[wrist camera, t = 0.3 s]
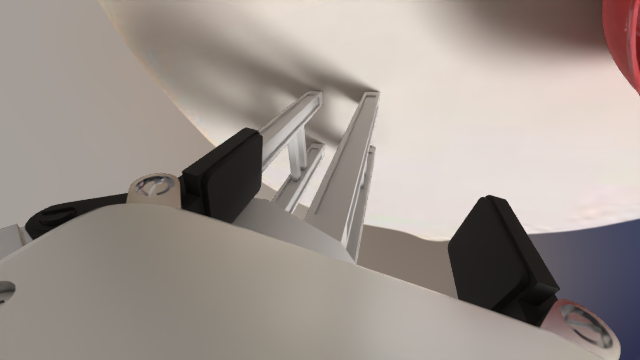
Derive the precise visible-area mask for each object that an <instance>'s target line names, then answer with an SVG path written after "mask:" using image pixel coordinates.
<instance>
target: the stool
mask: <svg viewBox="0 0 640 360" xmlns="http://www.w3.org/2000/svg"><path fill="white" fill-rule="evenodd" d="M379 100H380V92H364V94H363V96H362V99H361V101H360V103H359V105H358V107H357V109H356V111H355V113H354V115H353V117H352V120H351V122H350V124H349V126H348V128H347V130H346V132H345V134H344V136H343V138H342V141H341V143H340V145H339V147H338V149H337V151H336V153H335V155H334V157H333V159H332V162H331V164H330V166H329V168H328V170H327V172H326V174H325V176H324V178H323V180H322V183H321V185H320V187H319V189H318V191H317V193H316V195H315V197H314V199H313V201H312V204H311V206H310V208H309V210H308V212H307V214H306V216H305V218H304V220H301V219H300V218H298V217H296V216H294V215H293V214H292V213H293V212H294V210H295V208H296V206H297V204H298V203H299V201H300V199H301V197H302V195H303V194H304V192H305V190H306V188H307V186H308V184H309V183H310V181H311V179H312V177H313V175H314V174H315V172H316V170H317V168H318V166H319V164H320V163H321V161H322V159H323V157H324V155H325V150H324V144H315V143H312V144H311V145H310V147H309V148H308V150H307V151H306V142H305V130H304V125H305V124H306V123H307V122H308V121H309V120H310V119H311V117H312V116H313V115H314V114H315V113H316V112H317V111H318V110H319V108H320V107H321V106H322V105H323V100H322V91H308V92H306V93H305V94H304V95H303V96H301V97H300V98H299V99H298V100H296V101H295V102H294V103H292V104H291V105H290V106H289V107H287V108H286V109H285V110H284V111H282V112H281V113H280V114H278V115H277V116H276V117H275V118H273V119H272V120H271V121H270V122H268V123H267V124H266V125H265V126H263V127H262V128H261V129H259V130H258V131H259V133H260V135H262V136H263V151H262V172H263V171H264V170H265V169H266V168H267V167H268V165H269V164H270V163H271V162H272V161H273V160H274V159H275V158H276V157H277V155H278V154H279V153H280V152H281V151H282V150H283V149H284V148H285V146H286V145H287V144H288V152H289V160H290V168H291V174H290V175H289V177H288V178H287V179H286V181H285V182H284V184H283V185H282V187H281V188H280V189H279V191H278V192H277V194H276V195H275V196H274V198H273V199H272V201H271V202H270V201H269V200H266V199H258V198H253V199H252V200H251V201H250V202H249V204H248V205H247V206H246V207H245V208H244V210H243V211H242V212H241V213H240V215H239V216H238V217H237V218H236V219H235V221H234V222H233V223H232V224H233V225H236V226H239V227H242V228H245V229H248V230H251V231H254V232H257V233H260V234H264V235H267V236H270V237H273V238H276V239H279V240H282V241H285V242H288V243H291V244H294V245H297V246H300V247H303V248H306V249H310V250H313V251H316V252H319V253H322V254H325V255H328V256H331V257H334V258H337V259H340V260H343V261H346V262H349V263H352V264H355V265H356V263H357V257H358V251H359V245H360V240H361V234H362V229H363V223H364V217H365V211H366V206H367V200H368V194H369V189H370V183H371V177H372V172H373V166H374V160H375V150H376V148H374V147H370V143H371V138H372V134H373V130H374V126H375V121H376V117H377V113H378V108H379Z"/></svg>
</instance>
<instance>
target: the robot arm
mask: <svg viewBox="0 0 640 360" xmlns="http://www.w3.org/2000/svg"><path fill="white" fill-rule="evenodd" d="M262 151H263V136H262V135H260V133H259V131H257V130H254V129H250V128H247V127H246V128H244V129H242V130H241V131H239V132H238V133H237V134H235V135H234V136H232V137H231V138H229V139H228V140H226V141H225V142H224V143H222V144H221V145H219V146H218V147H216V148H215V149H213V150H212V151H211V152H209V153H208V154H206V155H205V156H204V157H202V158H201V159H199V160H198V161H196V162H195V163H193V164H192V165H191V166H189V167H188V168H186V169H185V170H183V171H182V174H183V175H182V176H180V177H178V178H177V177H176V176H174V175H171V174H166V173H155V174H149V175H146V176H143V177H141V178H139V179H137V180H135V181H134V182H133V183H132V184H131V185H130V188H129V191H128V193H125V194H119V195H112V196H106V197H100V198H93V199H87V200H81V201H74V202H68V203H63V204H58V205H54V206H51V207H48V208H46V209H44V210H42V211H40V212H38V213H36V214H35V215H34V216H33V217H31V218H30V219H29V220H28V222H27V223H26V225H25V226H24V227H21V228H19V226H18V225H17V224H15V225H11V226H8V227H5V228H2V229H0V360H619V356H620V344H619V341H618V339H617V337H616V336H615V335H614V333H613V332H612V331H611V329H610V328H609V327H608V326H607V325H606V324H605V323H604V322H603V321H602V320H601V319H600V318H599V317H598V316H596V315H595V314H594V313H592V312H591V311H590V310H588V309H586V308H585V307H583V306H582V305H579V304H577V303H575V302H573V301H569V300H565V299H561V300H558V299H557V298H556V296H555V293H556V292H558V291H559V290H560V288H559V286H558V285H557V283H556V282H555V280H554V278H553V277H552V275H551V273H550V272H549V270H548V268H547V267H546V265H545V263H544V262H543V260H542V258H541V257H540V255H539V253H538V252H537V250H536V248H535V247H534V245H533V244H532V242H531V240H530V239H529V237H528V235H527V233H526V232H525V230H524V228H523V227H522V225H521V224H520V222H519V220H518V219H517V217H516V215H515V214H514V212H513V210H512V209H511V207H510V205H509V204H508V202H507V201H506V200H505V199H502V198H499V197H495V196H491V195H487V196H486V197H481V198H480V199H479V200H478V201H477V203H476V204H475V206H474V207H473V209H472V210H471V212H470V213H469V214H468V216H467V217H466V219H465V220H464V222H463V223H462V224H461V226H460V227H459V229H458V230H457V232H456V233H455V235H454V236H453V237H452V239H451V240H450V242H449V244H448V253H449V258H450V262H451V267H452V272H453V276H454V281H455V285H456V290H457V295H458V299H456V298H453V297H450V296H447V295H444V294H441V293H438V292H435V291H432V290H429V289H426V288H423V287H420V286H417V285H414V284H411V283H409V282H406V281H402V280H399V279H396V278H394V277H391V276H388V275H385V274H382V273H379V272H376V271H373V270H370V269H366V268H364V267H361V266H358V265H355V264H352V263H349V262H346V261H343V260H340V259H337V258H334V257H331V256H328V255H325V254H322V253H319V252H316V251H313V250H310V249H306V248H303V247H300V246H297V245H294V244H291V243H288V242H285V241H282V240H279V239H276V238H273V237H270V236H267V235H264V234H260V233H257V232H254V231H251V230H248V229H245V228H242V227H239V226H236V225H233V224H232V223H233V222H234V221H235V219H236V218H237V217H238V216H239V215H240V213H241V212H242V211H243V210H244V208H245V207H246V206H247V205H248V204H249V202H250V201H251V200H252V199H253V198H254V196H255V195H256V194H257V193H258V191H259V190H260V187H261V178H262Z"/></svg>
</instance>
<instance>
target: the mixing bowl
mask: <svg viewBox="0 0 640 360" xmlns="http://www.w3.org/2000/svg"><path fill="white" fill-rule="evenodd" d="M602 22H603V30H604V35H605V38H606V41H607V44H608V47H609V50H610V53H611V55H612V58H613V59H614V61H615V63H616V65H617V66H618V68H619V70H620V71H621V73H622V74H623V75H624V77H625V78H626V79H627V80H628V82H629V83H630V84H631V85H632V87H633V88H634V89H635V90H636V91H637V92H638V94H639V95H640V0H603V1H602Z"/></svg>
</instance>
